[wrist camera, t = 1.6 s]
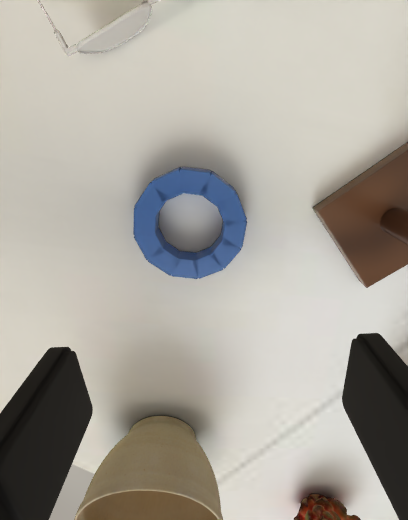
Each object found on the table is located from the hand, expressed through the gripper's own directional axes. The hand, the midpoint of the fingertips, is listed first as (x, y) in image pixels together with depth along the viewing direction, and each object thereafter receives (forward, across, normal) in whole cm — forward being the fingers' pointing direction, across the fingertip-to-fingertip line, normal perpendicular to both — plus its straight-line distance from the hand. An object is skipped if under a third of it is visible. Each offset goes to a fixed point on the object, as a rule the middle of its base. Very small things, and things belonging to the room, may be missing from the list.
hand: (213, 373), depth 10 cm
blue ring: (+20, +2, 0) cm, 20 cm away
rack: (+20, -17, +1) cm, 26 cm away
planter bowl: (+20, +8, +31) cm, 38 cm away
